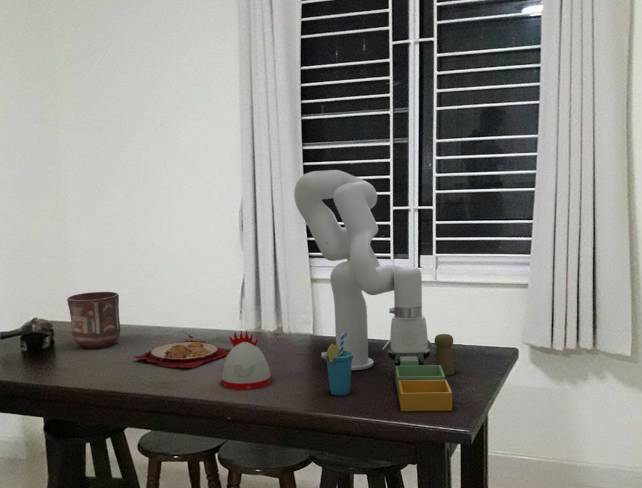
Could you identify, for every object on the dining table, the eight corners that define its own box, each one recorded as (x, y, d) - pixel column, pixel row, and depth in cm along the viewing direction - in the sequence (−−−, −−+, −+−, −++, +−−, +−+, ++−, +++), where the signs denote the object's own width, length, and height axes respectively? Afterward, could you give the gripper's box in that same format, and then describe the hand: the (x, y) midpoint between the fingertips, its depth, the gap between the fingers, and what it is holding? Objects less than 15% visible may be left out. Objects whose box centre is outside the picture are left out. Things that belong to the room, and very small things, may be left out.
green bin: (397, 393, 199) (397, 377, 199) (395, 381, 210) (395, 365, 210) (445, 393, 198) (445, 376, 197) (440, 380, 209) (440, 365, 208)
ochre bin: (401, 411, 186) (400, 393, 185) (398, 397, 197) (398, 380, 196) (452, 410, 184) (452, 392, 183) (446, 396, 195) (446, 379, 194)
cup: (333, 383, 212) (332, 330, 209) (361, 384, 209) (359, 331, 206) (319, 398, 199) (317, 342, 196) (348, 400, 196) (346, 343, 194)
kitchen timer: (224, 376, 224) (221, 326, 222) (271, 374, 224) (268, 324, 221) (220, 390, 211) (217, 337, 208) (270, 388, 210) (267, 335, 207)
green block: (400, 378, 213) (400, 361, 212) (399, 373, 218) (399, 356, 217) (419, 378, 212) (418, 360, 212) (417, 373, 217) (417, 356, 216)
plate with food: (132, 362, 247) (131, 351, 246) (187, 343, 267) (186, 333, 266) (185, 372, 232) (184, 361, 232) (239, 351, 252) (238, 341, 251)
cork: (455, 375, 213) (455, 337, 211) (433, 375, 215) (433, 337, 213) (454, 369, 219) (454, 332, 217) (433, 369, 220) (432, 332, 218)
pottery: (82, 339, 283) (78, 292, 280) (128, 338, 280) (124, 290, 277) (64, 351, 265) (59, 301, 262) (112, 350, 263) (108, 299, 260)
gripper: (377, 315, 209) (379, 379, 213) (440, 313, 207) (441, 378, 210) (376, 310, 217) (378, 371, 220) (437, 308, 215) (438, 370, 218)
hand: (409, 374), depth 215 cm, fingers closed on green block, 5 cm apart
